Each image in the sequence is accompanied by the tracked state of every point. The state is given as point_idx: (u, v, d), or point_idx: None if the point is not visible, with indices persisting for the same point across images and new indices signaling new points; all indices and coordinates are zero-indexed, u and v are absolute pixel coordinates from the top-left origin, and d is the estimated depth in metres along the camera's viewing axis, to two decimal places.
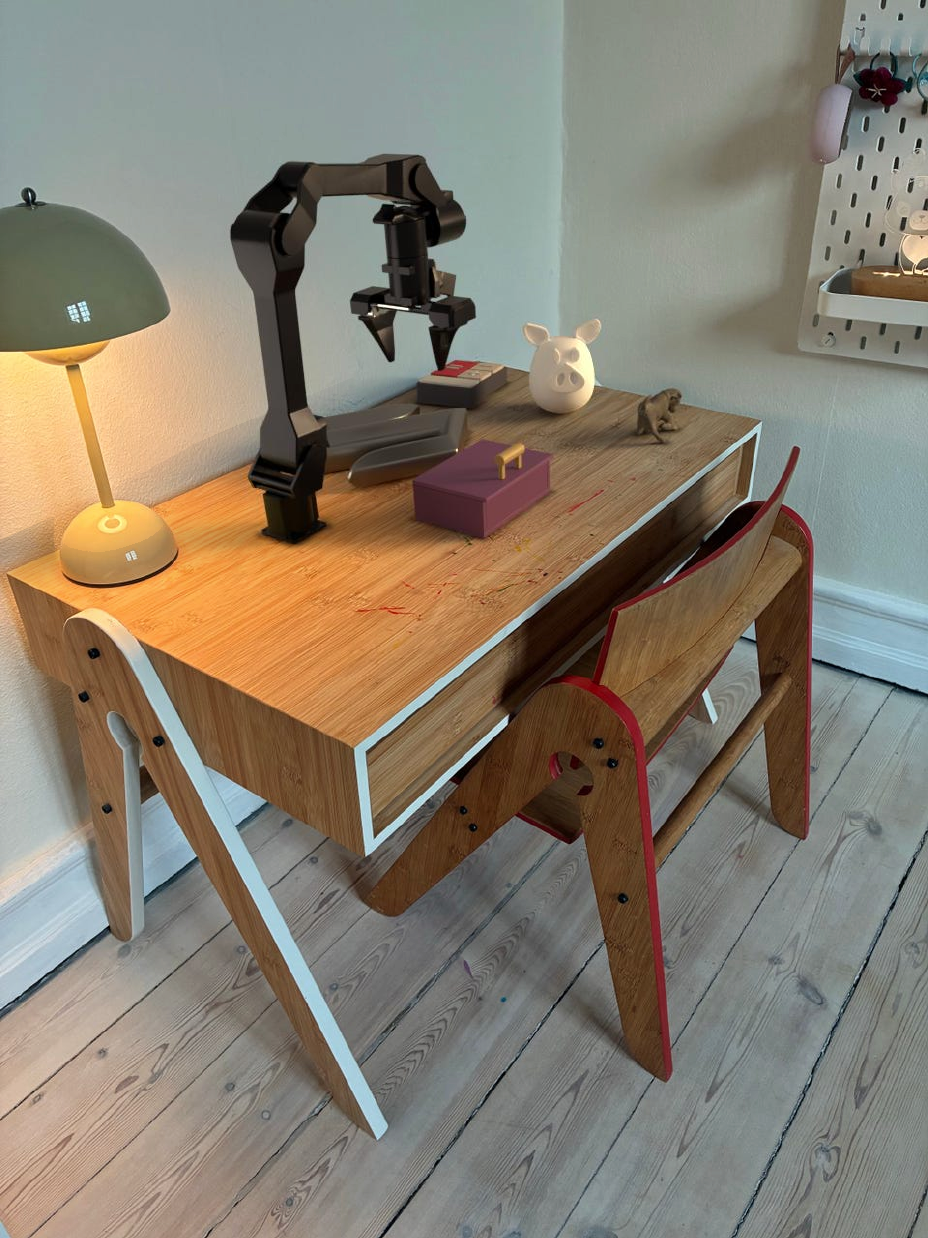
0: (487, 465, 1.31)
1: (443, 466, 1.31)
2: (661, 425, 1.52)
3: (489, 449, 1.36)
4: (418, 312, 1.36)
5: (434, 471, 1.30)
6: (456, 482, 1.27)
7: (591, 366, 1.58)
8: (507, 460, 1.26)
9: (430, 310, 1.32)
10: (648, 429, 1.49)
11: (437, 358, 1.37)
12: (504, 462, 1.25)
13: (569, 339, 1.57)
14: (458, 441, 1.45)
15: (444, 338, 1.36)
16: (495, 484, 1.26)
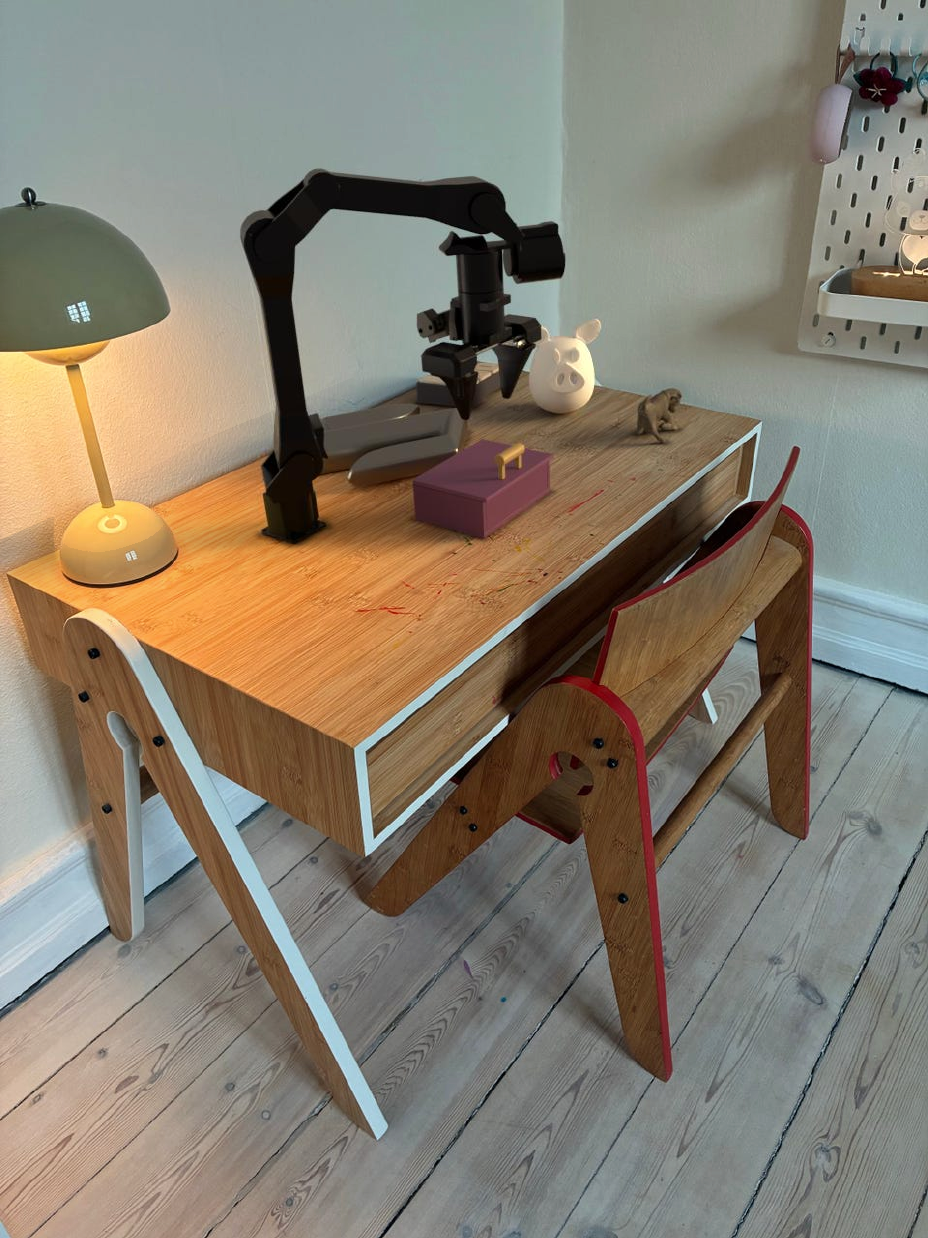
0: (487, 465, 1.31)
1: (443, 466, 1.31)
2: (661, 425, 1.52)
3: (489, 449, 1.36)
4: None
5: (434, 471, 1.30)
6: (456, 482, 1.27)
7: (591, 366, 1.58)
8: (507, 460, 1.26)
9: (527, 330, 1.26)
10: (648, 429, 1.49)
11: (515, 383, 1.30)
12: (504, 462, 1.25)
13: (569, 339, 1.57)
14: (458, 441, 1.45)
15: None
16: (495, 484, 1.26)
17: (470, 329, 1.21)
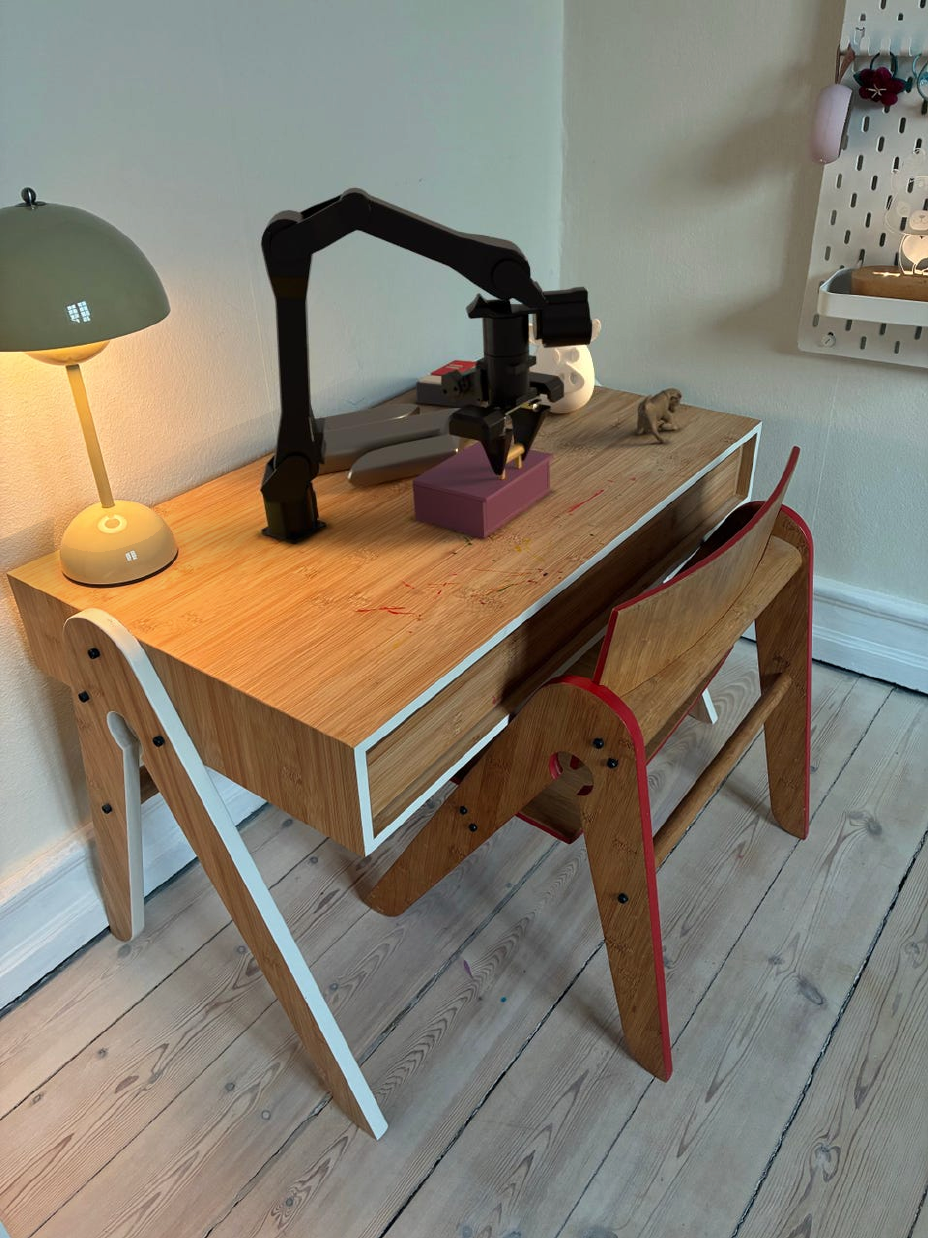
0: (487, 465, 1.31)
1: (443, 466, 1.31)
2: (661, 425, 1.52)
3: None
4: None
5: (434, 471, 1.30)
6: (456, 482, 1.27)
7: (591, 366, 1.58)
8: (507, 460, 1.26)
9: (551, 389, 1.26)
10: (648, 429, 1.49)
11: (530, 446, 1.28)
12: None
13: None
14: (458, 441, 1.45)
15: None
16: (495, 484, 1.26)
17: (496, 391, 1.20)
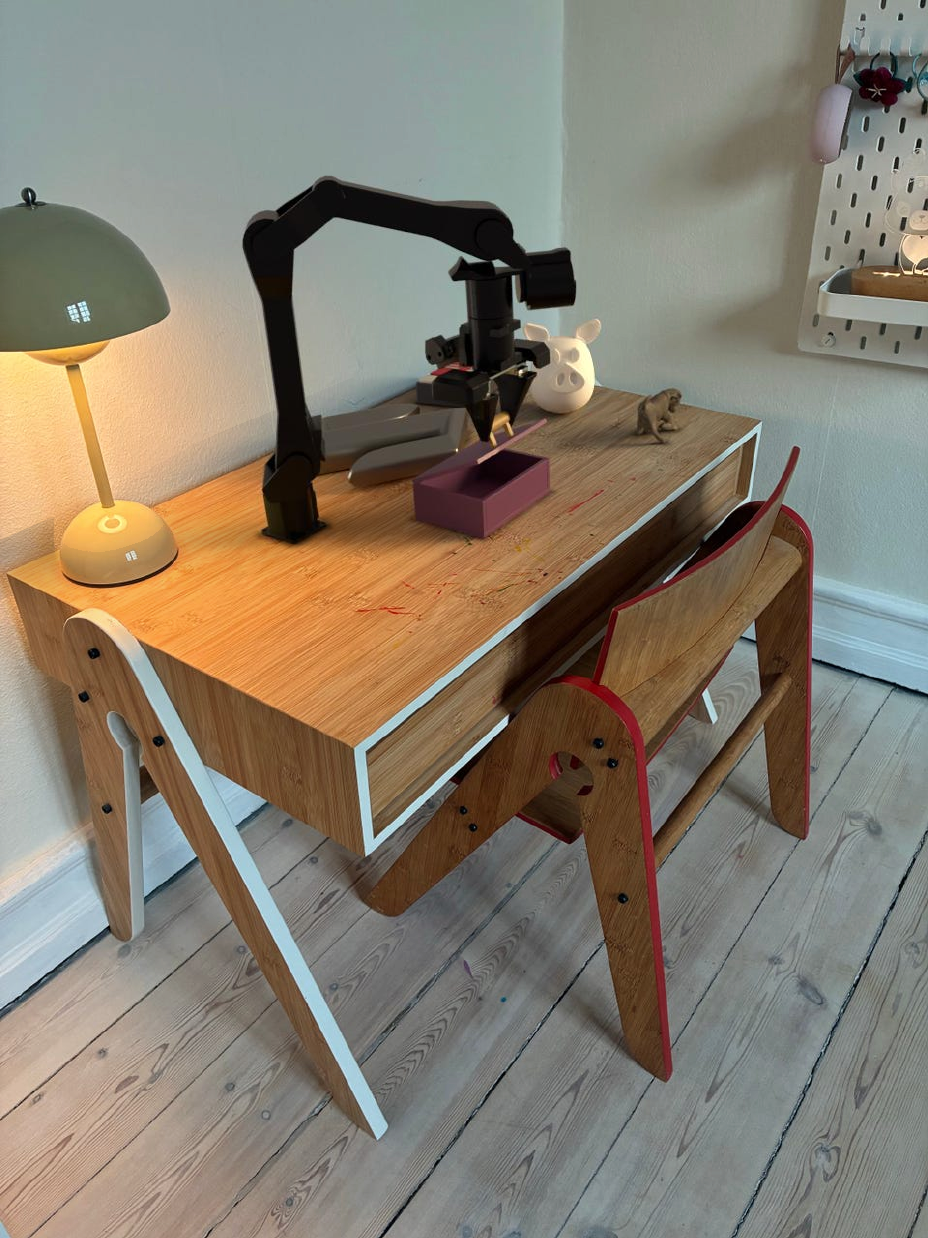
0: (482, 446, 1.30)
1: (441, 463, 1.31)
2: (661, 425, 1.52)
3: None
4: None
5: (433, 468, 1.30)
6: (451, 464, 1.26)
7: (591, 366, 1.58)
8: None
9: (536, 355, 1.24)
10: (648, 429, 1.49)
11: (517, 413, 1.27)
12: None
13: (569, 339, 1.57)
14: (458, 441, 1.45)
15: None
16: (487, 451, 1.24)
17: (480, 355, 1.19)
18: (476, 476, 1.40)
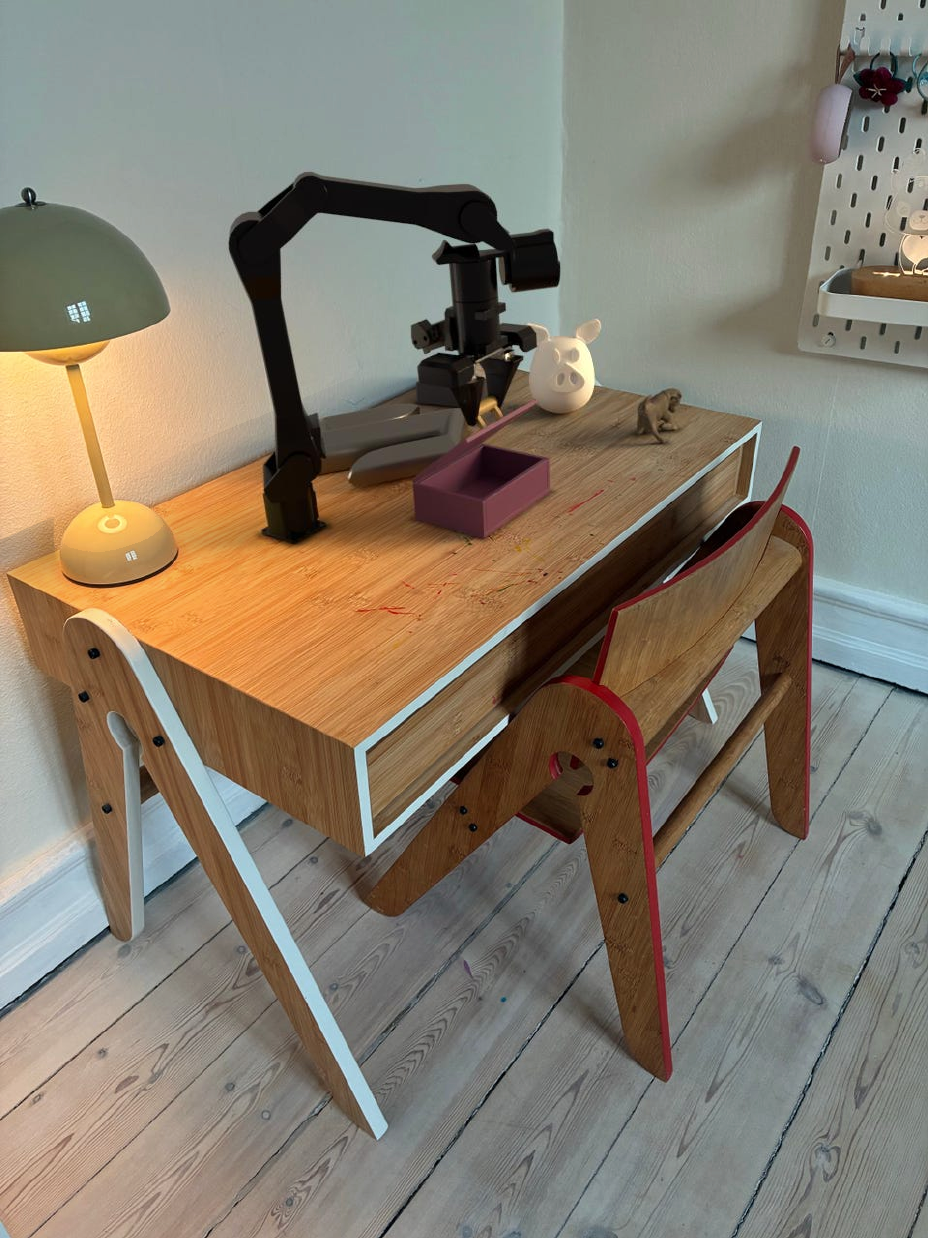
0: None
1: None
2: (661, 425, 1.52)
3: None
4: None
5: None
6: None
7: (591, 366, 1.58)
8: None
9: (523, 338, 1.24)
10: (648, 429, 1.49)
11: (504, 397, 1.27)
12: None
13: (569, 339, 1.57)
14: (458, 441, 1.45)
15: None
16: None
17: (465, 339, 1.19)
18: (476, 476, 1.40)
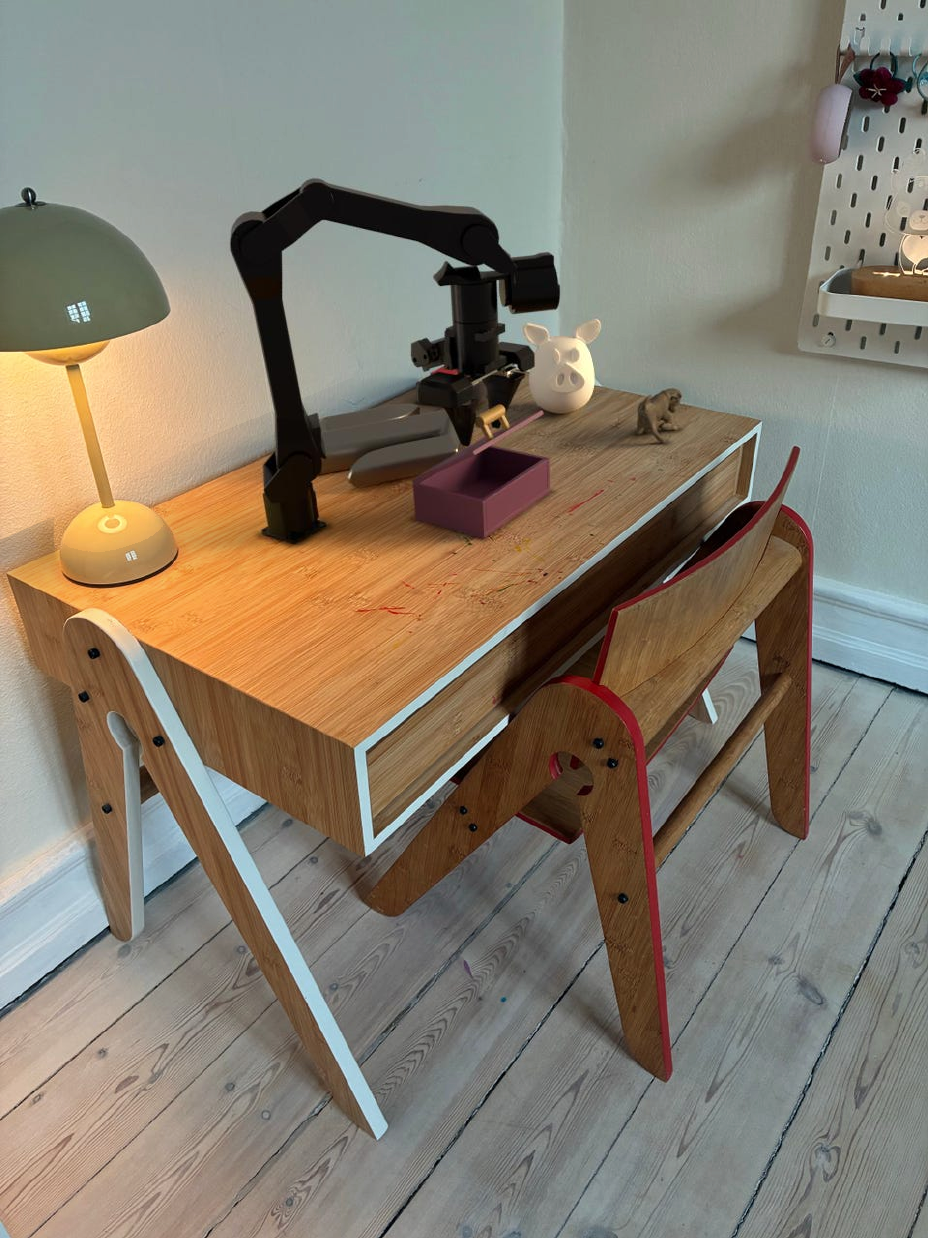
0: (480, 442, 1.30)
1: (441, 462, 1.31)
2: (661, 425, 1.52)
3: (485, 438, 1.35)
4: None
5: (432, 467, 1.30)
6: (449, 460, 1.26)
7: (591, 366, 1.58)
8: (487, 418, 1.24)
9: (521, 358, 1.26)
10: (648, 429, 1.49)
11: (505, 413, 1.30)
12: (484, 420, 1.24)
13: (569, 339, 1.57)
14: (458, 441, 1.45)
15: None
16: (483, 443, 1.24)
17: (465, 359, 1.21)
18: (476, 476, 1.40)
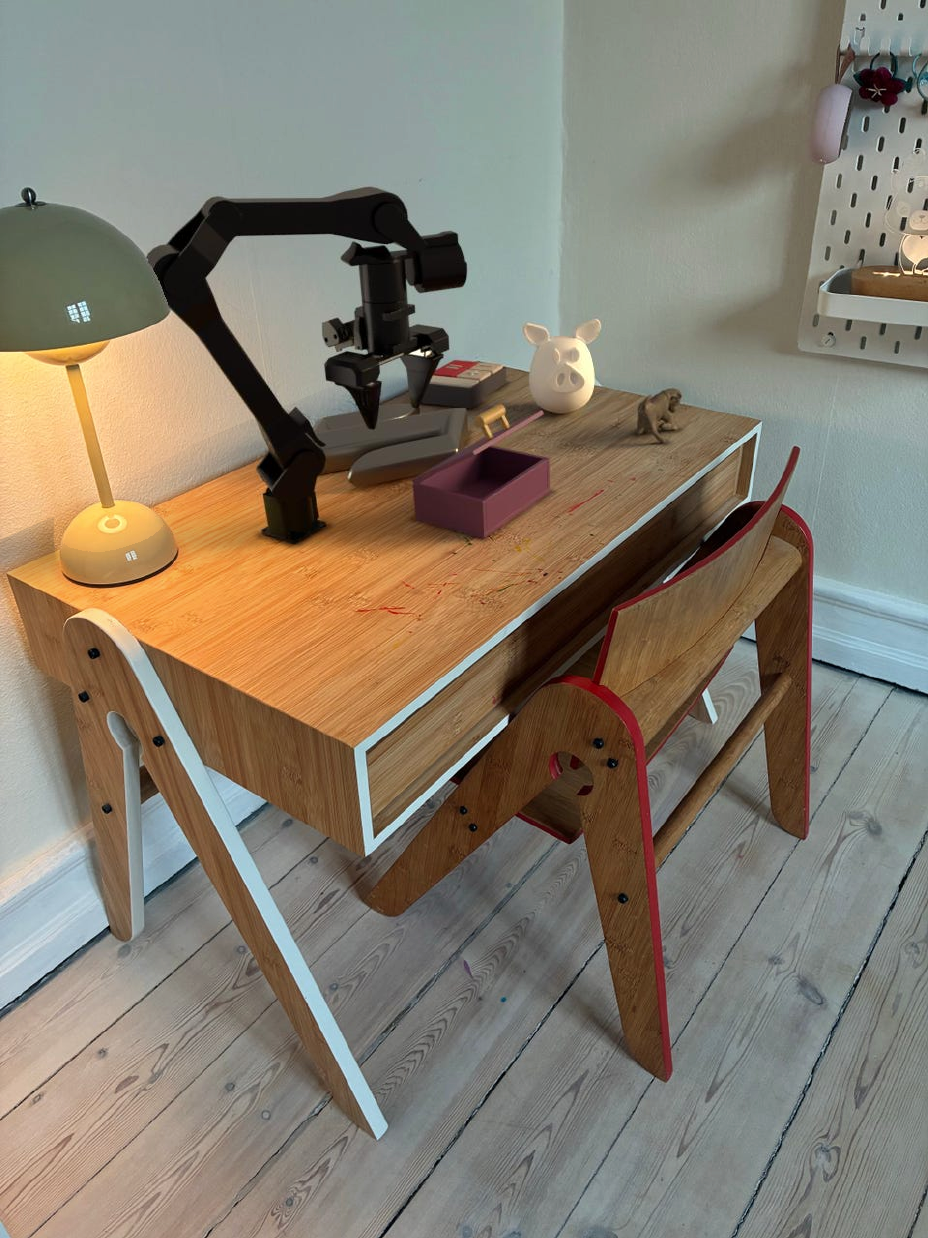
0: (480, 442, 1.30)
1: (441, 462, 1.31)
2: (661, 425, 1.52)
3: (485, 438, 1.35)
4: (399, 356, 1.25)
5: (432, 467, 1.30)
6: (449, 460, 1.26)
7: (591, 366, 1.58)
8: (487, 418, 1.24)
9: (434, 340, 1.26)
10: (648, 429, 1.49)
11: (424, 393, 1.30)
12: (484, 420, 1.24)
13: (569, 339, 1.57)
14: (458, 441, 1.45)
15: None
16: (483, 443, 1.24)
17: (373, 339, 1.21)
18: (476, 476, 1.40)
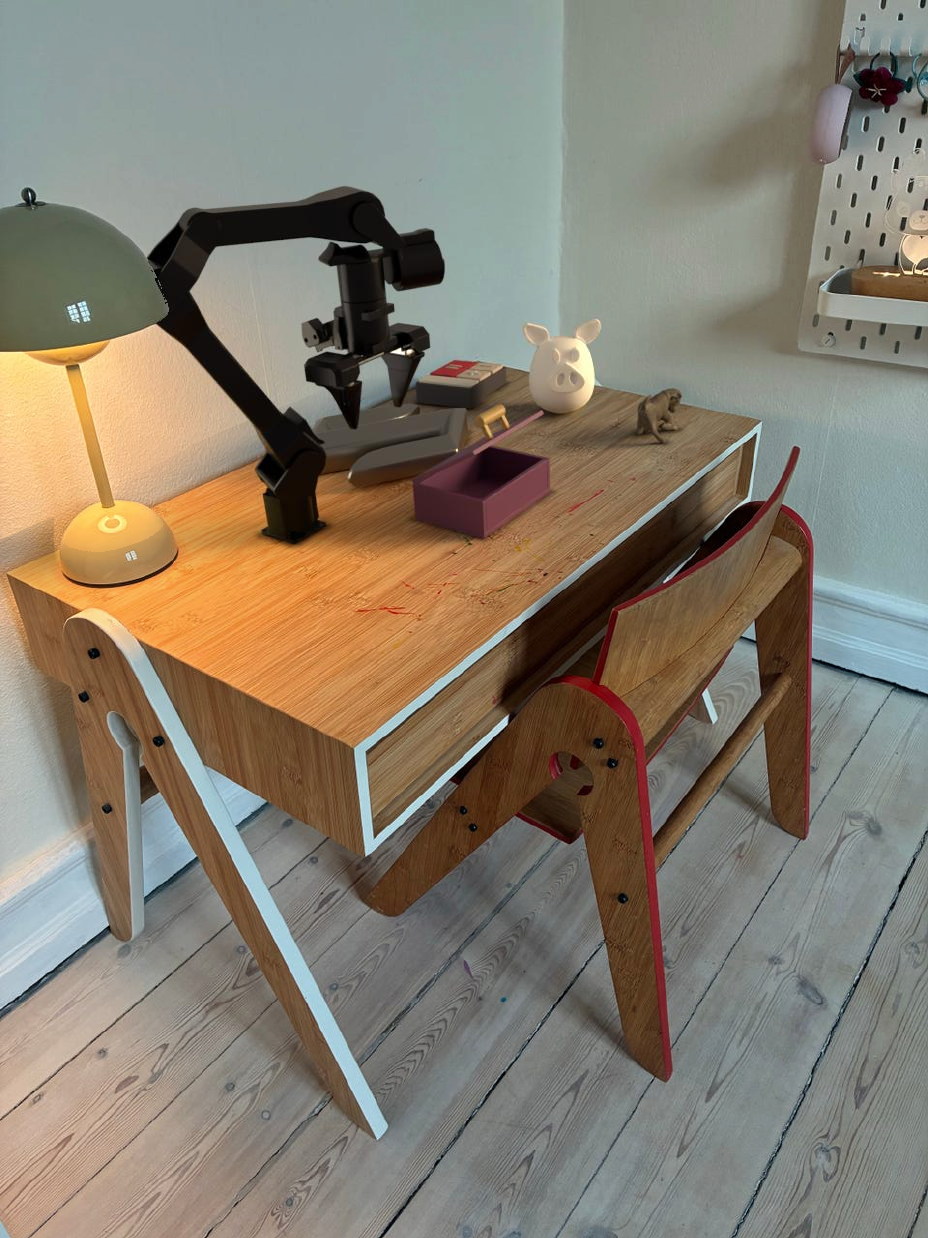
0: (480, 442, 1.30)
1: (441, 462, 1.31)
2: (661, 425, 1.52)
3: (485, 438, 1.35)
4: None
5: (432, 467, 1.30)
6: (449, 460, 1.26)
7: (591, 366, 1.58)
8: (487, 418, 1.24)
9: (414, 339, 1.26)
10: (648, 429, 1.49)
11: (406, 392, 1.30)
12: (484, 420, 1.24)
13: (569, 339, 1.57)
14: (458, 441, 1.45)
15: None
16: (483, 443, 1.24)
17: (353, 338, 1.21)
18: (476, 476, 1.40)
